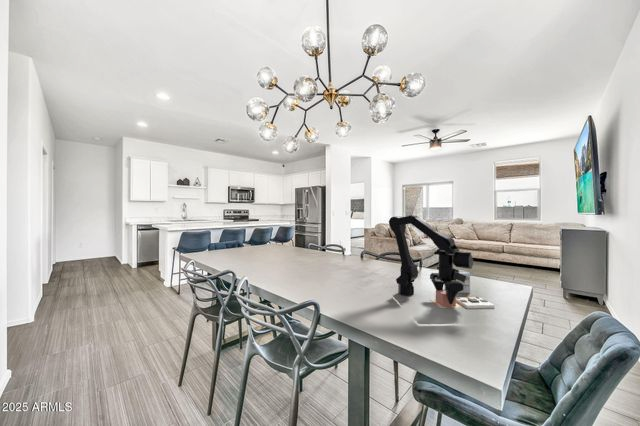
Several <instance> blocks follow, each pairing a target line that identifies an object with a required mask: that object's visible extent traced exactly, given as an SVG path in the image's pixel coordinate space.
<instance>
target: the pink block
mask: <svg viewBox="0 0 640 426" xmlns="http://www.w3.org/2000/svg"><path fill="white" fill-rule="evenodd" d="M456 298H457V295H456V296H455V298H454V301H453V304H449V301H448V298H447V294H446V291H445V290H444V289H443V290H436V289H435V300H436V302H438V303H439V304H440V305H442V306H456V303H457V302H456Z"/></svg>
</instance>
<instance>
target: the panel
mask: <svg viewBox="0 0 640 426" xmlns="http://www.w3.org/2000/svg"><path fill="white" fill-rule="evenodd" d="M468 299H477V300H478V301H479V303H472V302H470V301H468ZM456 303H457V304H458V305H460V306H462V307H464V308H465V309H495V307H496V306H495V305H496V304H494V303H491V302H489V301H488V300H486V299H484V298H481V297H480V296H475V297H470V296H465V297H461V296H456Z"/></svg>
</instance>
